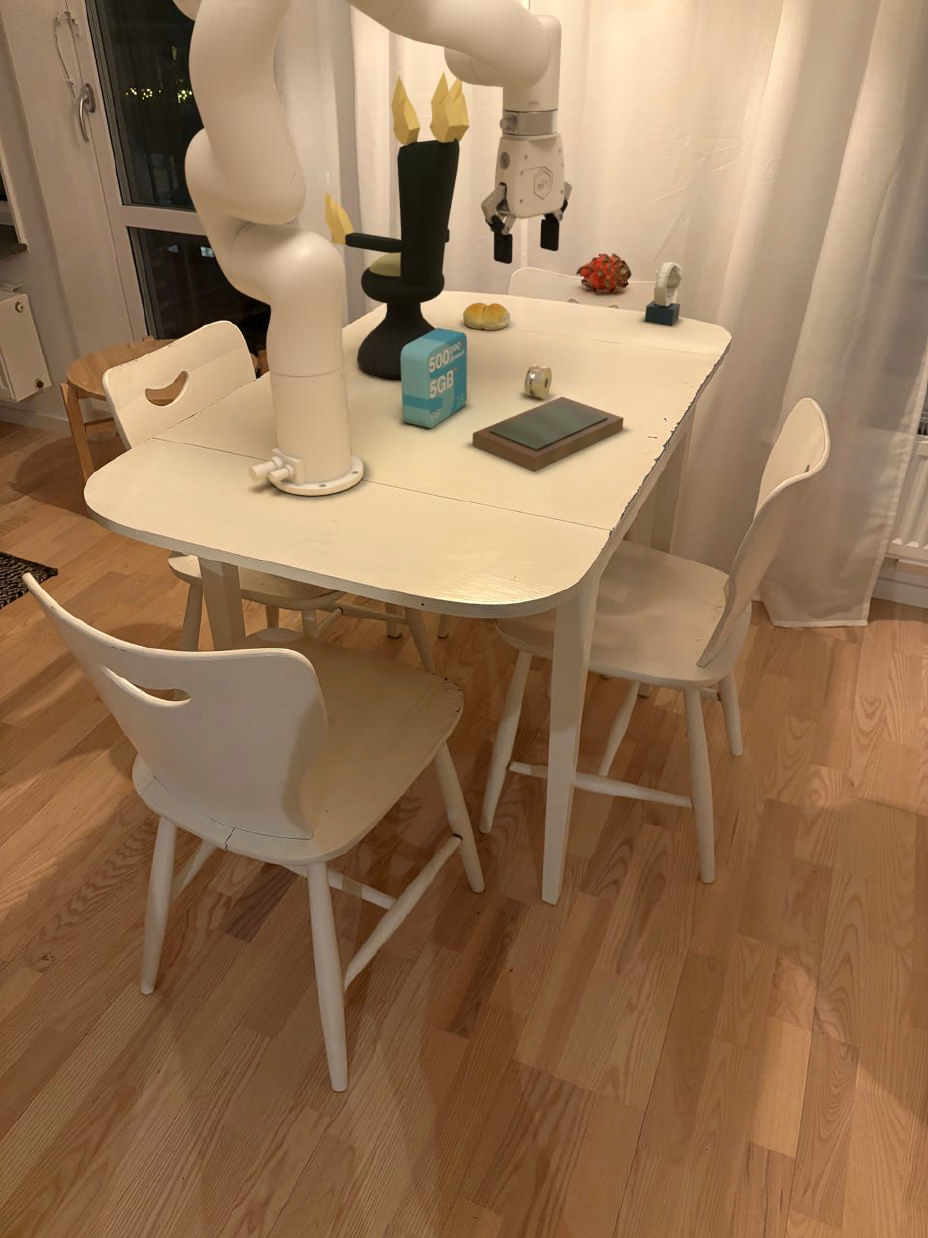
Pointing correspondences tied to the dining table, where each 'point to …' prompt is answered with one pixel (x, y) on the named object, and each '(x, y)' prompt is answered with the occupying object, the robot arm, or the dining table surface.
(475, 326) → the bread roll
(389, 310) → the candelabra
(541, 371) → the metal grooved wheel
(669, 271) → the watch
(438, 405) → the data package
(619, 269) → the dragon fruit
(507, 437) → the desk pad
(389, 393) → the dining table surface
